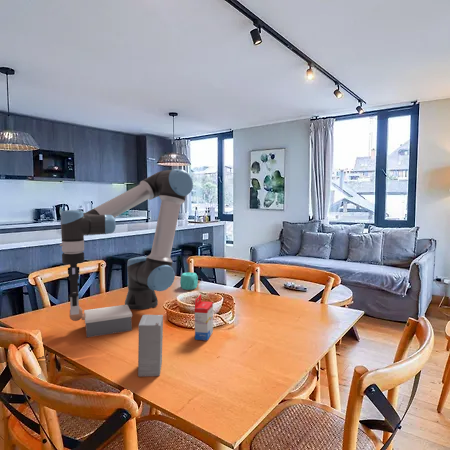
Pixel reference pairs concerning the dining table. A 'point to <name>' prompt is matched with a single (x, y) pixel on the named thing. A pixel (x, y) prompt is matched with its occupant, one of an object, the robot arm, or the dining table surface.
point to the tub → (108, 327)
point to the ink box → (203, 319)
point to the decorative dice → (189, 281)
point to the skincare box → (150, 345)
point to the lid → (102, 314)
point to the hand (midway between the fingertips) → (74, 308)
